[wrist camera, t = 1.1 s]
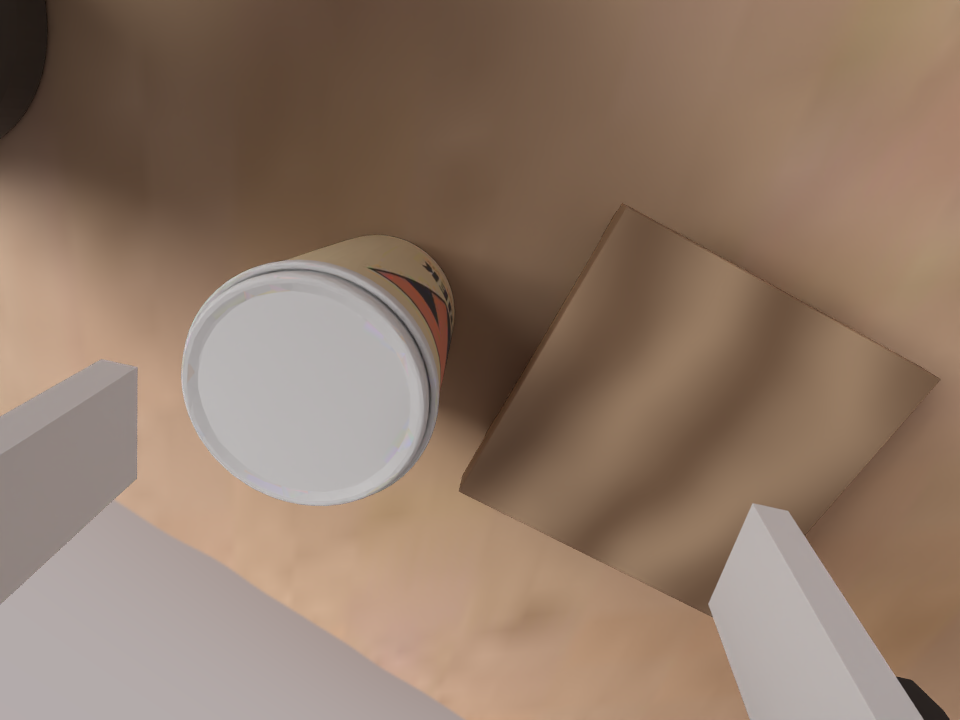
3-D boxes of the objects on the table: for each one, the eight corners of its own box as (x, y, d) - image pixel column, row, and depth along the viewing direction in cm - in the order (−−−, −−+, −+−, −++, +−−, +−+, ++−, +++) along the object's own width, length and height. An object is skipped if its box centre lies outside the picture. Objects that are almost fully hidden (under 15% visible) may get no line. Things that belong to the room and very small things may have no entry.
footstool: (470, 438, 35) (458, 491, 30) (612, 193, 30) (626, 207, 25) (701, 554, 37) (727, 624, 31) (875, 338, 31) (940, 379, 26)
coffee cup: (477, 387, 34) (445, 514, 23) (310, 391, 35) (202, 514, 24) (464, 212, 31) (421, 259, 20) (282, 222, 32) (142, 272, 21)
